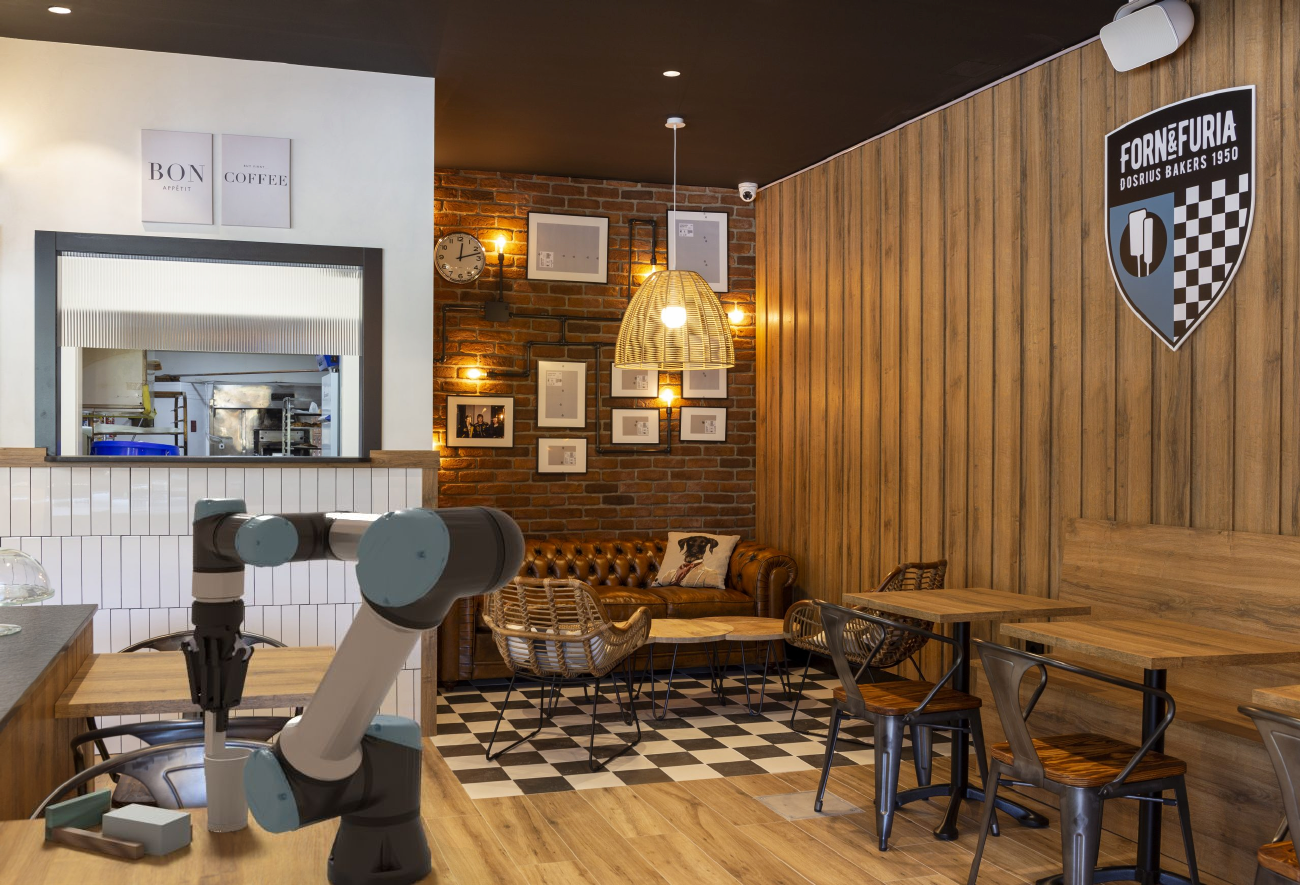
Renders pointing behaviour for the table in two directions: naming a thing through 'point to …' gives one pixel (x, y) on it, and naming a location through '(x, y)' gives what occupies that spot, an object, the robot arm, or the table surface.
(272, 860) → the table surface
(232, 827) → the cup
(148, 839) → the block
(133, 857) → the brown green u-shaped frame
